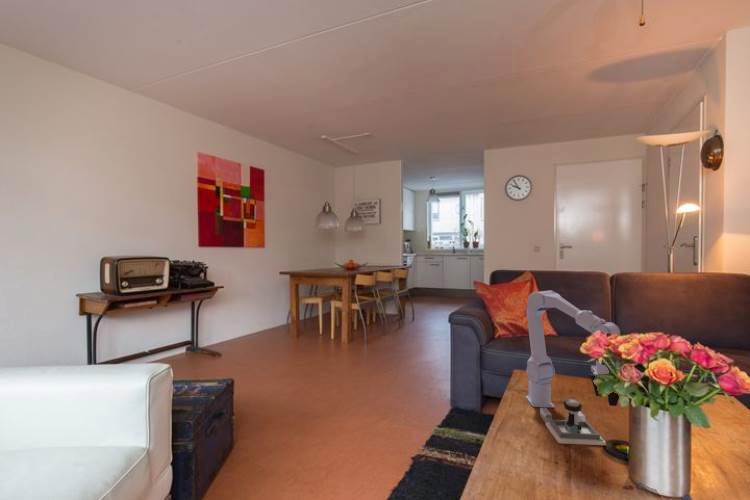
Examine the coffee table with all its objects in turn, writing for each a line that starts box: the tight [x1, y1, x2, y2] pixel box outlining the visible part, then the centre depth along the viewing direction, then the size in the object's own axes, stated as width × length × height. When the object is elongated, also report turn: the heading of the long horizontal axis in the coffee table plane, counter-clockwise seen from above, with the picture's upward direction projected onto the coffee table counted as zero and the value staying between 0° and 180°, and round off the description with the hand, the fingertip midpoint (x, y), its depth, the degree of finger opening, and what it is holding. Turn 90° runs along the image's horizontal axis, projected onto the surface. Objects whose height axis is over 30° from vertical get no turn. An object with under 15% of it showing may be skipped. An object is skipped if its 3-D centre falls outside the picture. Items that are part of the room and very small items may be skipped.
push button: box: [563, 398, 584, 433], centre depth 124 cm, size 7×5×10 cm
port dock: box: [545, 419, 607, 446], centre depth 125 cm, size 12×14×2 cm
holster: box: [539, 407, 586, 424], centre depth 135 cm, size 6×13×3 cm, turn 84°
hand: (605, 400), depth 127 cm, fingers open, 7 cm apart
